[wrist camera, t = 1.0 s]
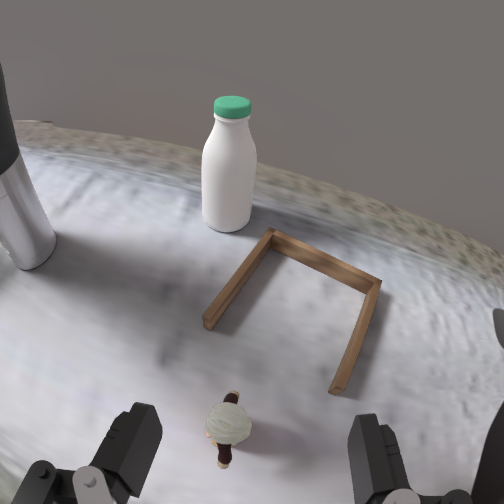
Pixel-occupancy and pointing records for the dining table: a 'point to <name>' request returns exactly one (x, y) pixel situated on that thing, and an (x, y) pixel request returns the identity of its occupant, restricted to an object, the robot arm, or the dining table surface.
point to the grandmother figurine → (227, 427)
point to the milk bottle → (229, 166)
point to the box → (319, 263)
